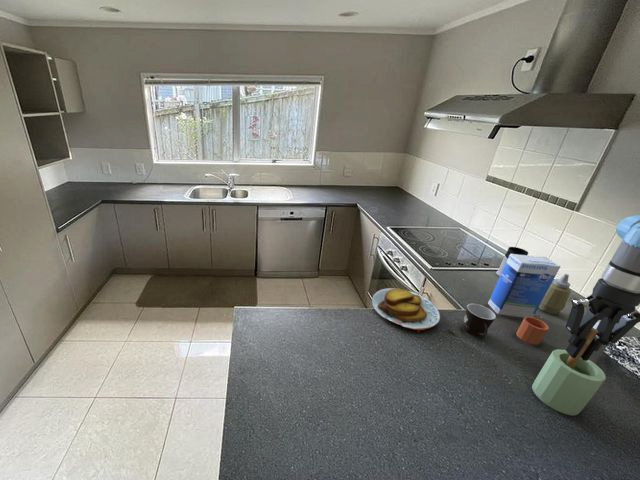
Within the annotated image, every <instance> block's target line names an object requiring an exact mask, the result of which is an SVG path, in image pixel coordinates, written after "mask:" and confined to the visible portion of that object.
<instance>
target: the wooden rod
mask: <svg viewBox="0 0 640 480" xmlns="http://www.w3.org/2000/svg"><path fill="white" fill-rule="evenodd" d="M597 333H598V330H596V329H594V328H592V329H591V330H590V331H589V332H588V334H587V335H586V336H585V337H584V338H585V339H586V340H587V341H586V343H585V344H584V346H583V347H582V349H581V350H580V352H579V353H578V355H577V356H576V358H572V357H571V356H569V358H568V359H567V361H566V362H565V364H566V365H567V366H568V367H570V368H571V369H574V367H575V366H576V364H577V363H578V361H579V360H580V358H581V357H582V355H583V354H584V352H585V351H586V349H587V348H588V346H589V345H590V343H591V342H592V340H593V339H594V337H595V336H596V334H597Z"/></svg>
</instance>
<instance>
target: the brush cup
mask: <svg viewBox="0 0 640 480" xmlns="http://www.w3.org/2000/svg"><path fill="white" fill-rule="evenodd" d="M549 329H550V327H549V326H548V324H547V323H546V322H545V321H543V320H541V319H539V318H537V317H528V316H527V317H524V318H523V319H522V321H521V323H520V325H519V327H518V329H517V331H516V333H515V334H516V336H517V337H518V339H520V340H521V341H523V342H525V343H527V344H529V345H532V346H533V345H534V346H539V345H540V344H541V343H542V341H543V339H544V337H545V335H546V334H547V332H548V331H549Z"/></svg>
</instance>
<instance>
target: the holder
mask: <svg viewBox="0 0 640 480" xmlns="http://www.w3.org/2000/svg"><path fill="white" fill-rule="evenodd" d="M510 254H518V255H528V256H529V252H528V251H527V250H526V249H525V248H524V249H523V248H520V247H516V246H509V247H508V248H507V251H506V253H505V254H504V256H503V258H502V261H501V262H500V265H499V268H498V270H497V271H495V274H496V275H497V276H499V277H500V276H501V273H502V271H503V269H504V267H505V264H506V262H507V260H508V258H509V256H510Z"/></svg>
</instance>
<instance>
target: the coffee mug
mask: <svg viewBox="0 0 640 480" xmlns="http://www.w3.org/2000/svg"><path fill="white" fill-rule="evenodd" d="M496 318H497V316H496V314H495V311H494V310H493V311H492V309H490V308H488V307H486V306H484V305H481V304H477V303H468V304H467V305H466V309H465V313H464V318H463V322H462V327H461V328H462V330H463V331H464V332H465V333H467V334H468V335H470V336H473V337H475V338H481V337H483V336H485V335H487V334H488V330H489V328H490V326H491V325H492V323H493V322H494V321H495V319H496Z"/></svg>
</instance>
